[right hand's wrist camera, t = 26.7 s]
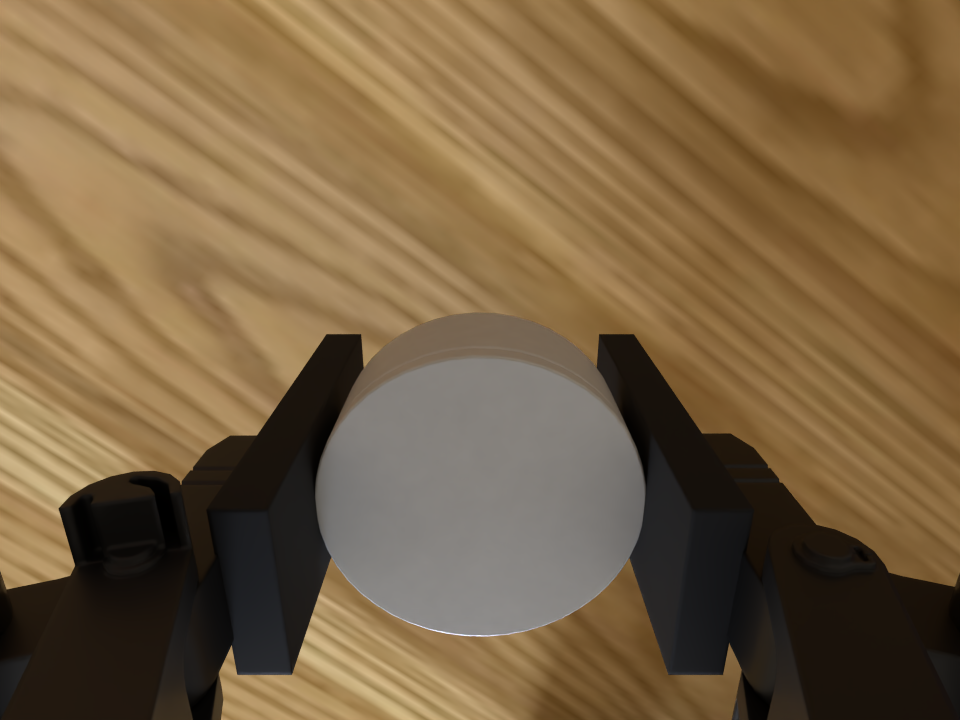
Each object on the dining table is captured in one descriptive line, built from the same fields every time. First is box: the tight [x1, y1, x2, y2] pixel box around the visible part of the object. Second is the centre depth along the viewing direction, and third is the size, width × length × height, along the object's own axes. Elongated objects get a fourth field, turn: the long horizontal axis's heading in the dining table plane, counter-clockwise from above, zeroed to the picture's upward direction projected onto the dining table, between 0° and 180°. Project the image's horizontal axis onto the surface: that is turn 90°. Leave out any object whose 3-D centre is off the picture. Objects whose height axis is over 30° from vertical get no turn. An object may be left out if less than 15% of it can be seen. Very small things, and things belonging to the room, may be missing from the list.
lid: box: [315, 313, 646, 636], centre depth 11 cm, size 5×5×2 cm
